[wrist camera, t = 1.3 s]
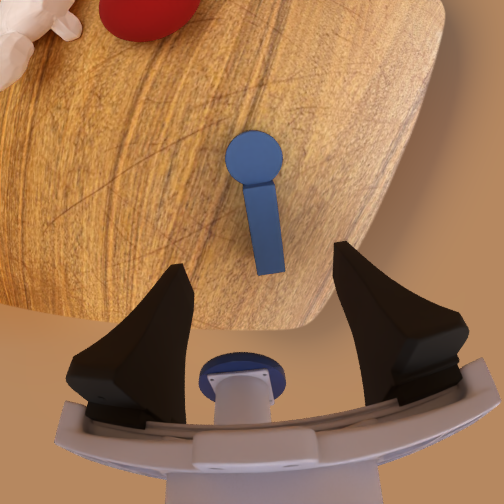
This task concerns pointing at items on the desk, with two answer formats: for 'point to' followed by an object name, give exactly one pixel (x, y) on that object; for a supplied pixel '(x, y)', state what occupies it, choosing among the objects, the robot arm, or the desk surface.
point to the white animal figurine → (30, 32)
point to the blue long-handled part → (259, 194)
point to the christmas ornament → (145, 17)
